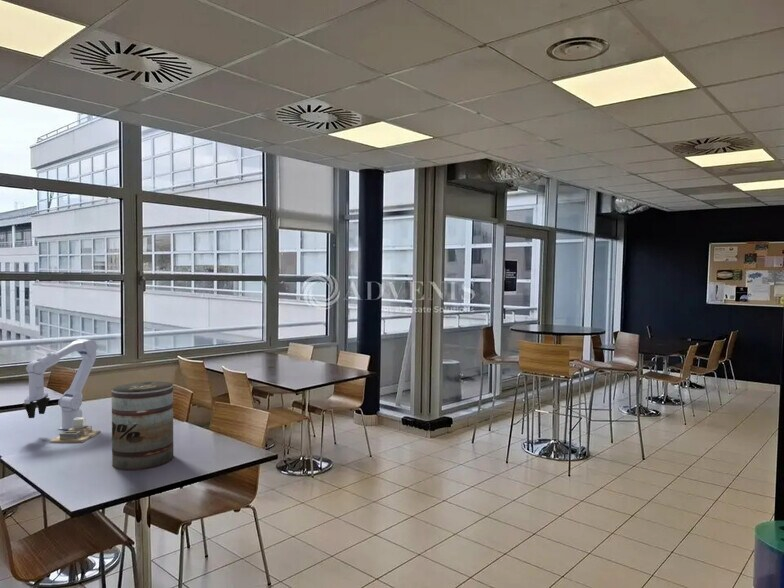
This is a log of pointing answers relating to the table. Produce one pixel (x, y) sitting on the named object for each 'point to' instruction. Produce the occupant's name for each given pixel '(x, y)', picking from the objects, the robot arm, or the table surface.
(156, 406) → the barrel
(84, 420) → the brushed aluminum block
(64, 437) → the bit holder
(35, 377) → the robot arm
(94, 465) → the table surface
